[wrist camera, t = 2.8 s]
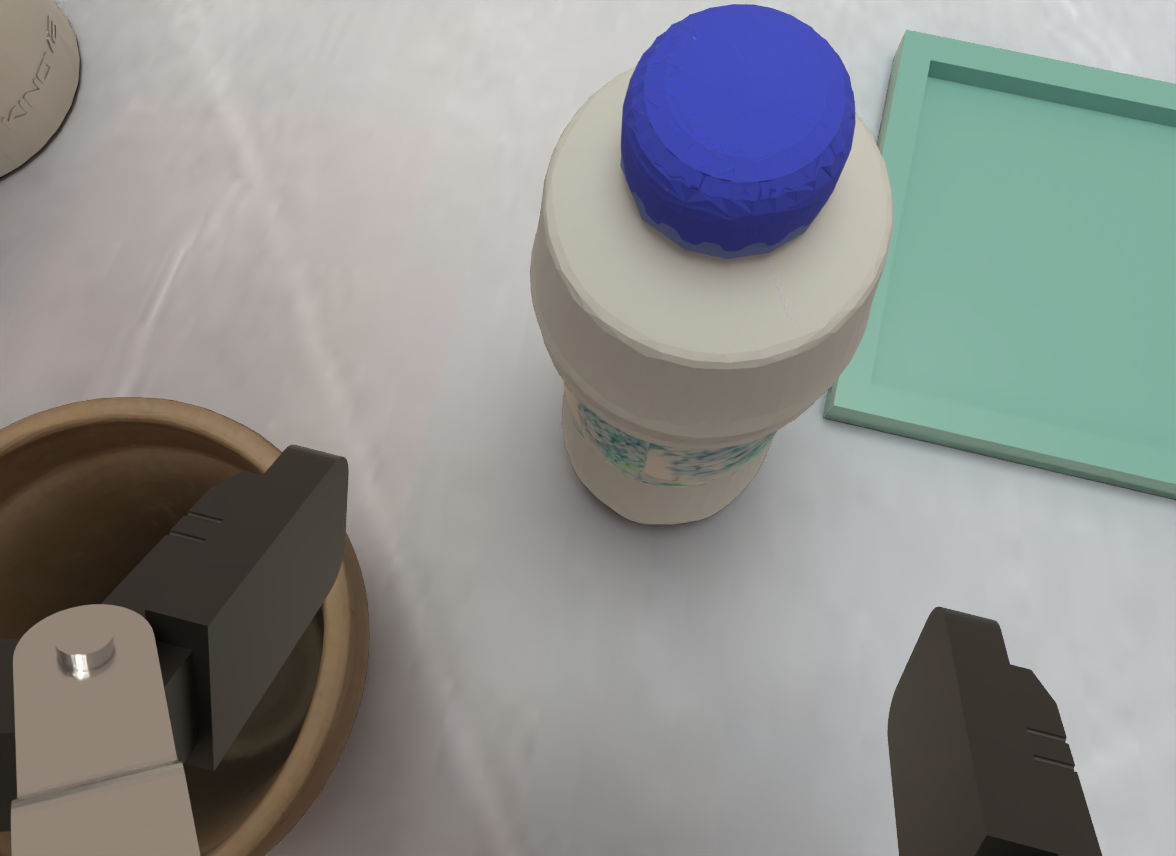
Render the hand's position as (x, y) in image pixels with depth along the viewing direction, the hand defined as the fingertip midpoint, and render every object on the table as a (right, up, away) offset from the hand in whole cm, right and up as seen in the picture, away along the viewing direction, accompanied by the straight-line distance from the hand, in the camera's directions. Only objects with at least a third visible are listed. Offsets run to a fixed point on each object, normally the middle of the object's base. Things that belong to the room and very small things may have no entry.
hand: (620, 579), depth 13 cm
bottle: (+2, +2, +19) cm, 20 cm away
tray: (+16, +7, +21) cm, 27 cm away
